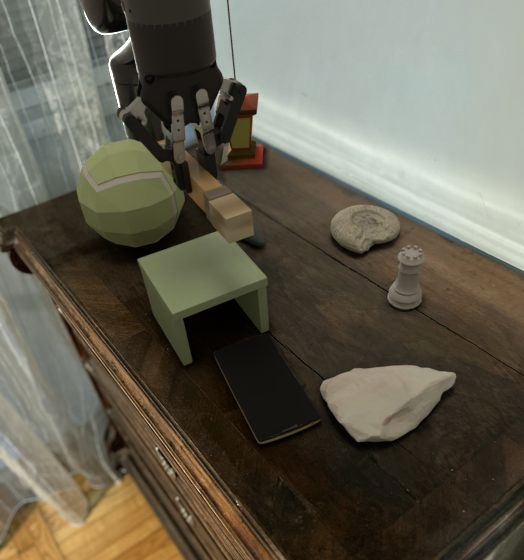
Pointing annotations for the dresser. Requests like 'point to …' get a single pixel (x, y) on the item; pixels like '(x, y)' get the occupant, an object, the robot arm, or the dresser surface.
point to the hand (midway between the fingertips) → (197, 186)
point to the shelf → (202, 285)
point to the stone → (384, 399)
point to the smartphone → (266, 389)
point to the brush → (217, 202)
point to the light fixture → (242, 133)
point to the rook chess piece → (407, 280)
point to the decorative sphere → (128, 194)
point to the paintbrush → (258, 235)
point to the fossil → (364, 227)
